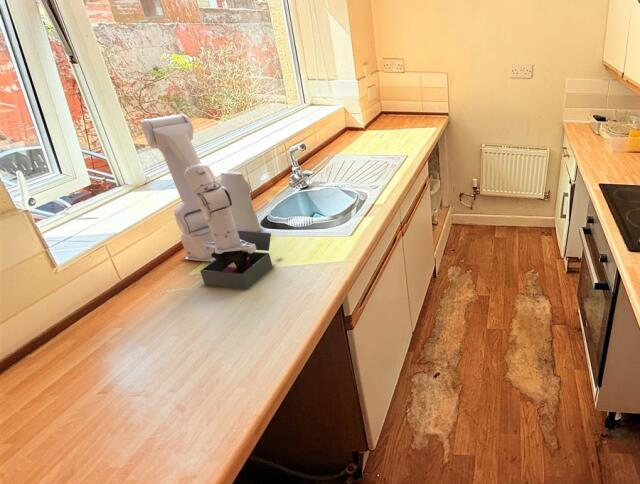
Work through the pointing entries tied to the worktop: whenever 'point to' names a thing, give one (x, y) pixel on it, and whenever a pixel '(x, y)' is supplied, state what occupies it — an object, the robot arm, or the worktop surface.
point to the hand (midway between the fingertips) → (237, 271)
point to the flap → (256, 239)
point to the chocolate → (233, 268)
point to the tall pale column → (240, 201)
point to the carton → (237, 280)
